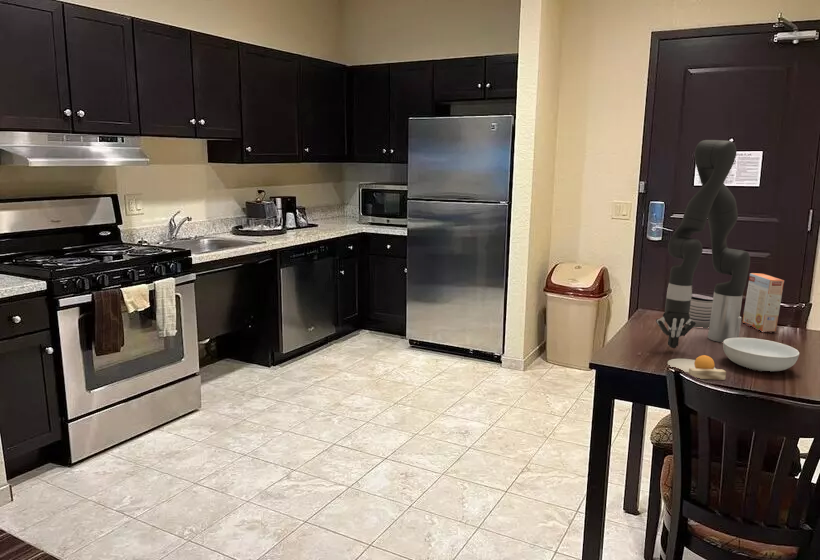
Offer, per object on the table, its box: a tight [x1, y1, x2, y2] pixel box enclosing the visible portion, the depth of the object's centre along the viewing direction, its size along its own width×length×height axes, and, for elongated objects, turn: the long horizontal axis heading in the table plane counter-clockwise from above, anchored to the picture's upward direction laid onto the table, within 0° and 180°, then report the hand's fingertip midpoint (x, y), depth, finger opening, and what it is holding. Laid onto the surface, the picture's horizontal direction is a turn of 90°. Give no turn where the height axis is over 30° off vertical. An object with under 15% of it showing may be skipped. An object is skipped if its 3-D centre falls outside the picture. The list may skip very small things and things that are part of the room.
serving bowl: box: [722, 337, 800, 372], centre depth 189 cm, size 21×21×7 cm
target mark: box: [667, 358, 717, 374], centre depth 188 cm, size 14×14×1 cm
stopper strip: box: [688, 368, 727, 381], centre depth 178 cm, size 10×2×2 cm, turn 89°
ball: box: [694, 354, 716, 369], centre depth 182 cm, size 6×6×6 cm
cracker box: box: [741, 272, 785, 332], centre depth 234 cm, size 14×6×21 cm, turn 179°
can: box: [684, 293, 713, 329], centre depth 237 cm, size 11×11×12 cm
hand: (672, 347), depth 202 cm, fingers closed
